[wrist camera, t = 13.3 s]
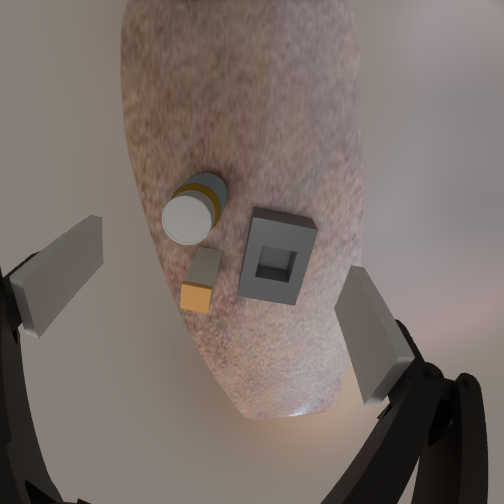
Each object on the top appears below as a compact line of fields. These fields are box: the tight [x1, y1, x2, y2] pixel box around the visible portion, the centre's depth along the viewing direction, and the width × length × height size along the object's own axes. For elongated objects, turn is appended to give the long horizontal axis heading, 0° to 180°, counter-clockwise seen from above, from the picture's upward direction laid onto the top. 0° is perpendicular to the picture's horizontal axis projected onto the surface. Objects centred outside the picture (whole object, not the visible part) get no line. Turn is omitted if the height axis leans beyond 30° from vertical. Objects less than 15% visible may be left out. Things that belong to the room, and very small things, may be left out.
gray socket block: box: [237, 207, 318, 305], centre depth 49 cm, size 14×10×6 cm
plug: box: [180, 247, 223, 314], centre depth 46 cm, size 4×4×13 cm
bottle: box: [162, 172, 228, 245], centre depth 40 cm, size 7×7×15 cm
